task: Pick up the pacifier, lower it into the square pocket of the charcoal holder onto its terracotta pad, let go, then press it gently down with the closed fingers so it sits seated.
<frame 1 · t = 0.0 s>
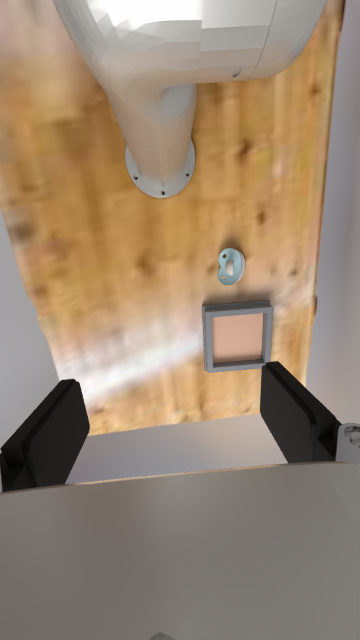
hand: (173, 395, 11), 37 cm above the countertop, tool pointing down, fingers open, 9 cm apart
pacifier: (230, 266, 45), on the countertop
holder: (235, 336, 50), on the countertop
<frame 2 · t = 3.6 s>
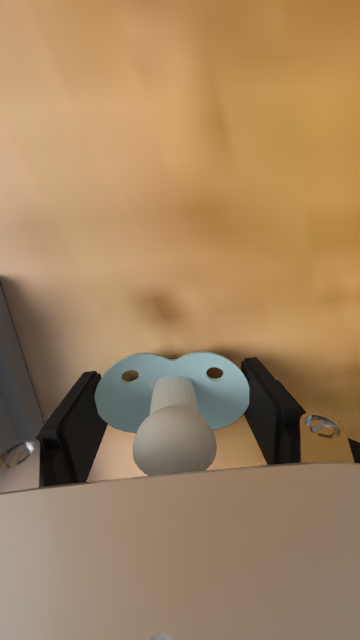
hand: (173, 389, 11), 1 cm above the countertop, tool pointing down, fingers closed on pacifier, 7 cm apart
pacifier: (173, 387, 13), on the countertop, touching gripper
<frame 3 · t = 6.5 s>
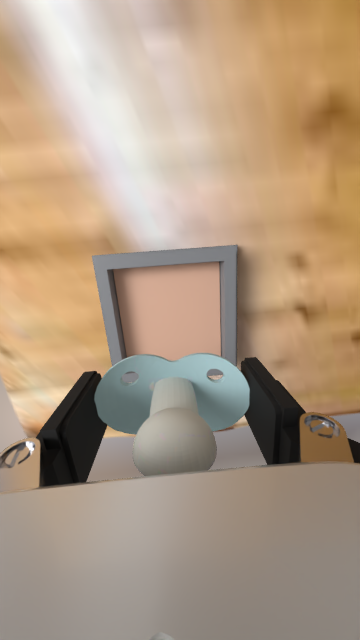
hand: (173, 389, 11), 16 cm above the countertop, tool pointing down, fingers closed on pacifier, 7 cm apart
pacifier: (173, 388, 13), point 14 cm above the countertop, touching gripper
holder: (170, 313, 26), on the countertop
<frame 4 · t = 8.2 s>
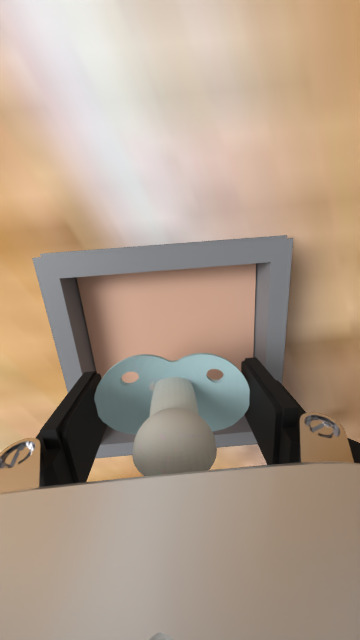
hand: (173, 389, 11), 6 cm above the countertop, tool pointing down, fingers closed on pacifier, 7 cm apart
pacifier: (173, 388, 13), point 5 cm above the countertop, touching gripper
holder: (173, 344, 17), on the countertop
when the fingers open (4 cm above the countertop, at t = 9.7 s): pacifier drops 1 cm, resting on holder.
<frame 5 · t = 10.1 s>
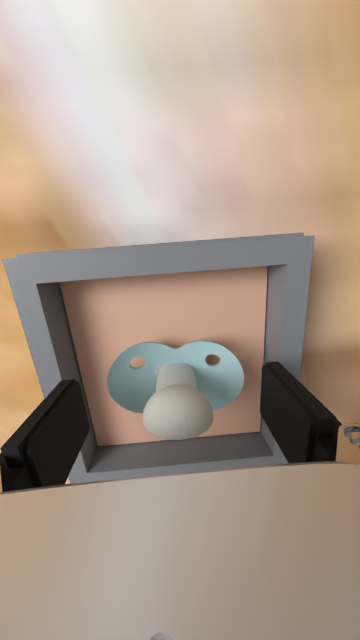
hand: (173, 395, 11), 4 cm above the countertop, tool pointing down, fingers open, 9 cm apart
pacifier: (175, 374, 14), point 1 cm above the countertop, touching holder
holder: (172, 357, 15), on the countertop
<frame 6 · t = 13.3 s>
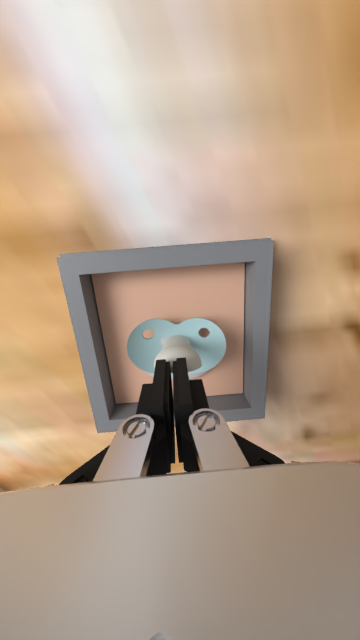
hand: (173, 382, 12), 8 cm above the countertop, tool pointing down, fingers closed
pacifier: (176, 346, 18), point 1 cm above the countertop, touching gripper, holder
holder: (174, 334, 19), on the countertop
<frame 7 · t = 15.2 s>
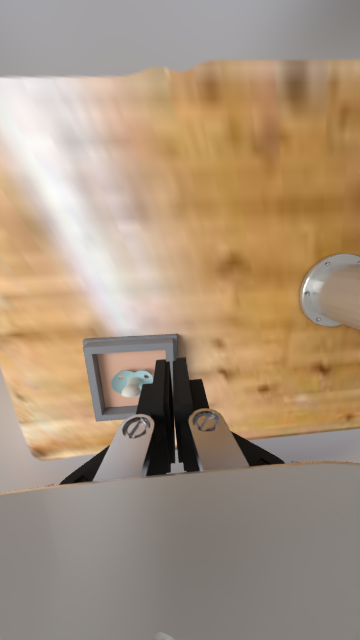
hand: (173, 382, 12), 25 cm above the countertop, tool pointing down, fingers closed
pacifier: (135, 380, 38), point 1 cm above the countertop, touching holder
holder: (135, 373, 39), on the countertop
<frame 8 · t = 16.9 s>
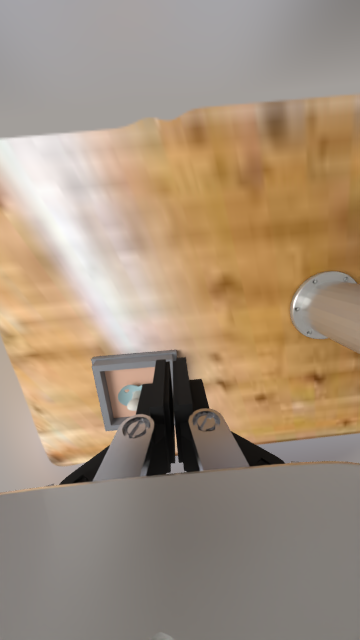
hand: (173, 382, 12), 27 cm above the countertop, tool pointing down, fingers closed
pacifier: (140, 393, 42), point 1 cm above the countertop, touching holder
holder: (139, 386, 43), on the countertop
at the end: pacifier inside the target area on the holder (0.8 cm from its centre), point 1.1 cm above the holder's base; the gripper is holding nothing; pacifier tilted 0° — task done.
